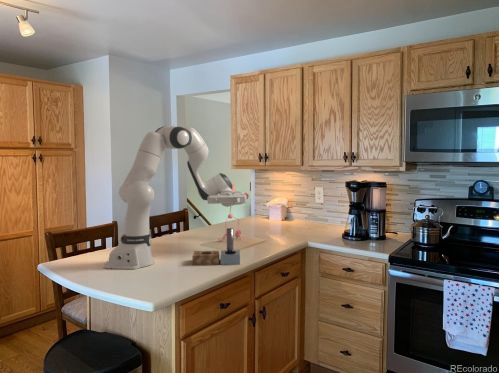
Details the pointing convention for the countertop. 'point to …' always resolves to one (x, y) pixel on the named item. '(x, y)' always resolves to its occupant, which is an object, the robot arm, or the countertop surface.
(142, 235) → the robot arm
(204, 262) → the wooden square hole block
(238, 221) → the figurine
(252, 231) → the countertop surface
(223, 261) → the socket block
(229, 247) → the steel axle
